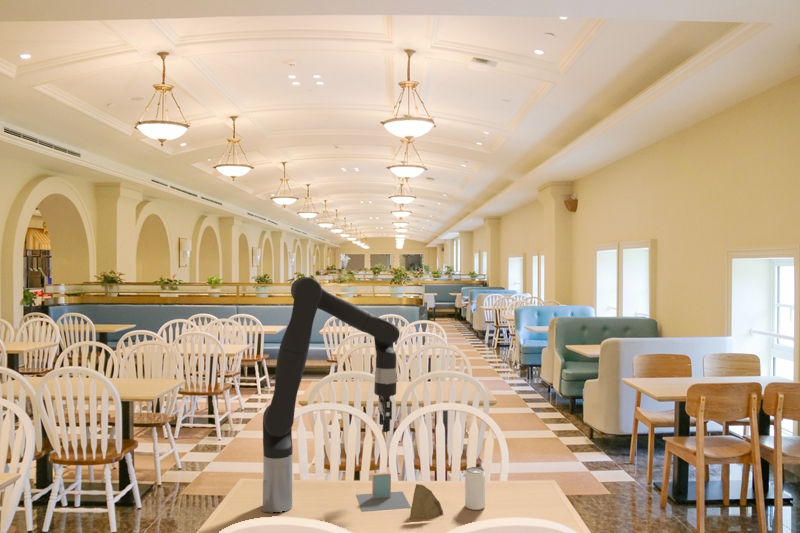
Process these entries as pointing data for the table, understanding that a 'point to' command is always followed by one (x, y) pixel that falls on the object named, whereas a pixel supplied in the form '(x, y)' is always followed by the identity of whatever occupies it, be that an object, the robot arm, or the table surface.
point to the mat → (382, 502)
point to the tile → (381, 485)
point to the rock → (424, 504)
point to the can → (475, 488)
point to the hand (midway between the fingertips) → (384, 427)
